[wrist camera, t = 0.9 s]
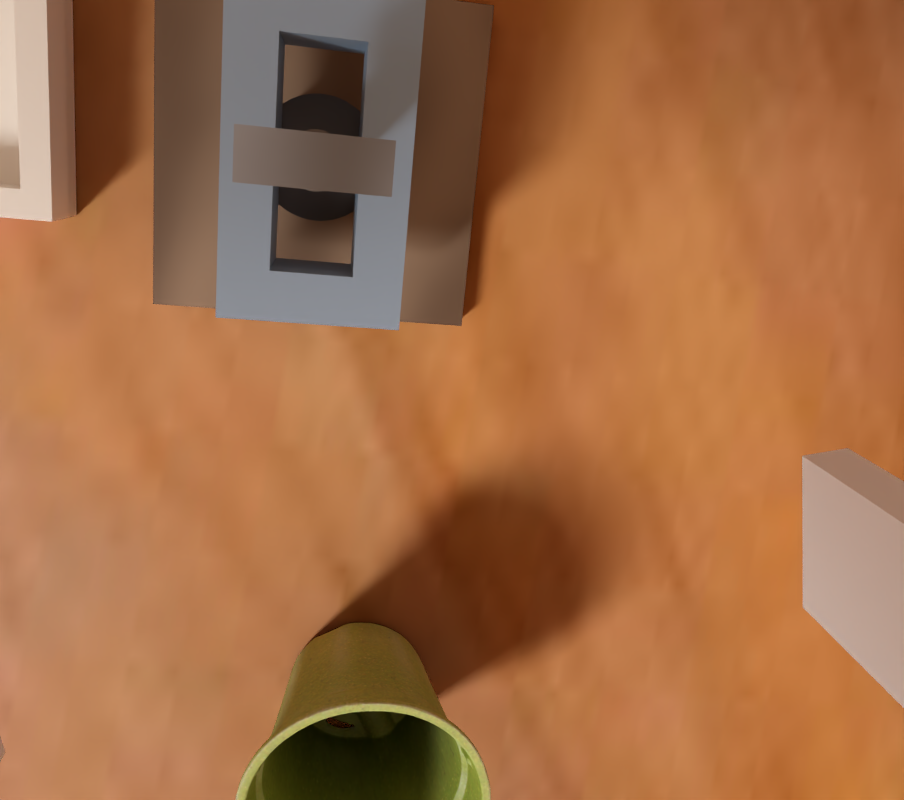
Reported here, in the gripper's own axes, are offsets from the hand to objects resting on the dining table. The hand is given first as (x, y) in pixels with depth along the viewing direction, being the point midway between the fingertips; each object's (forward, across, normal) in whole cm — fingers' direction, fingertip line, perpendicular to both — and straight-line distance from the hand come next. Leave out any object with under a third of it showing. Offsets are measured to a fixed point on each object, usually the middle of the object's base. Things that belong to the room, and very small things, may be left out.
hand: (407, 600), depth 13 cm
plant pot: (+23, -3, -16) cm, 29 cm away
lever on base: (+23, -1, +7) cm, 24 cm away
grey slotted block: (+19, 0, +8) cm, 20 cm away
